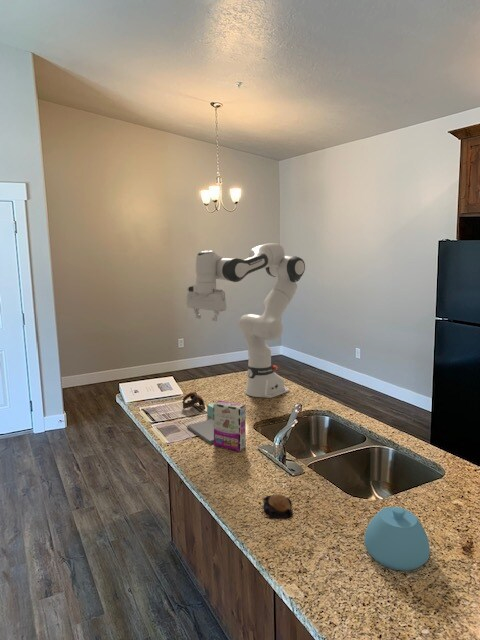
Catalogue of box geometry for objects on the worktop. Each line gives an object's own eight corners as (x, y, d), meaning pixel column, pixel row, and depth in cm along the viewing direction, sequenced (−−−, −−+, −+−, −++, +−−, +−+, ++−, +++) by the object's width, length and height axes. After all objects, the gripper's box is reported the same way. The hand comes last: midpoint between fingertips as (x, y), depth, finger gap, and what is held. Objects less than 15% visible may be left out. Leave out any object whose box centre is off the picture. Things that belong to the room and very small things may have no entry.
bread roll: (261, 500, 136) (261, 488, 136) (289, 499, 137) (290, 487, 136) (264, 521, 126) (264, 509, 125) (295, 520, 126) (295, 508, 126)
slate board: (217, 420, 195) (217, 417, 195) (240, 435, 180) (240, 432, 180) (187, 427, 187) (187, 425, 187) (209, 443, 173) (209, 440, 172)
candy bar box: (246, 447, 170) (246, 404, 167) (240, 452, 166) (240, 408, 163) (220, 441, 175) (219, 399, 172) (213, 446, 171) (212, 403, 168)
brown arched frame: (207, 412, 206) (198, 398, 202) (188, 421, 206) (179, 408, 203) (206, 397, 216) (197, 384, 213) (188, 405, 217) (179, 392, 214)
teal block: (217, 413, 204) (217, 402, 203) (223, 416, 200) (223, 405, 199) (207, 415, 201) (207, 404, 200) (213, 419, 197) (212, 407, 196)
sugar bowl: (353, 556, 111) (355, 512, 109) (377, 526, 123) (379, 486, 121) (417, 584, 102) (420, 537, 100) (436, 549, 114) (440, 506, 112)
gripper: (229, 289, 197) (229, 321, 200) (193, 286, 209) (194, 316, 212) (220, 290, 192) (220, 323, 195) (184, 287, 204) (184, 318, 207)
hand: (206, 319), depth 203 cm, fingers open, 8 cm apart
